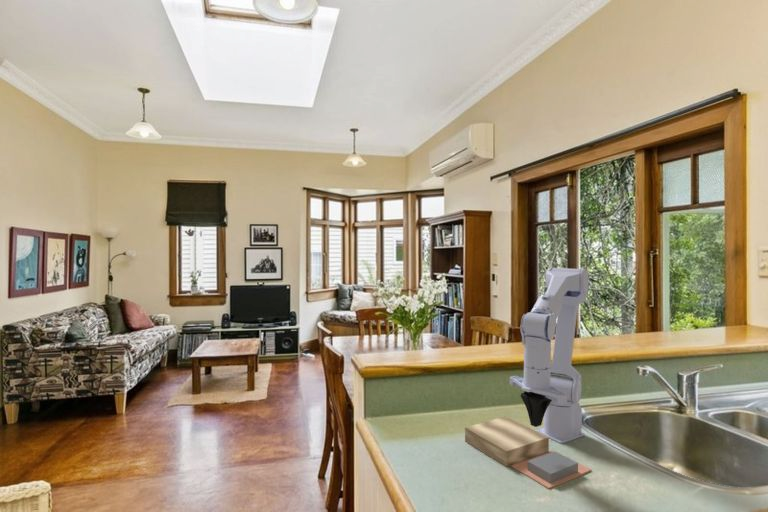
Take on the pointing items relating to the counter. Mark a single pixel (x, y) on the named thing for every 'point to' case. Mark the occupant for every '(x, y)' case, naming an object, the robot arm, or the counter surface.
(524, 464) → the terracotta mat
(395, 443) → the counter surface
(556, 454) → the slate tile
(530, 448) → the birch deck
